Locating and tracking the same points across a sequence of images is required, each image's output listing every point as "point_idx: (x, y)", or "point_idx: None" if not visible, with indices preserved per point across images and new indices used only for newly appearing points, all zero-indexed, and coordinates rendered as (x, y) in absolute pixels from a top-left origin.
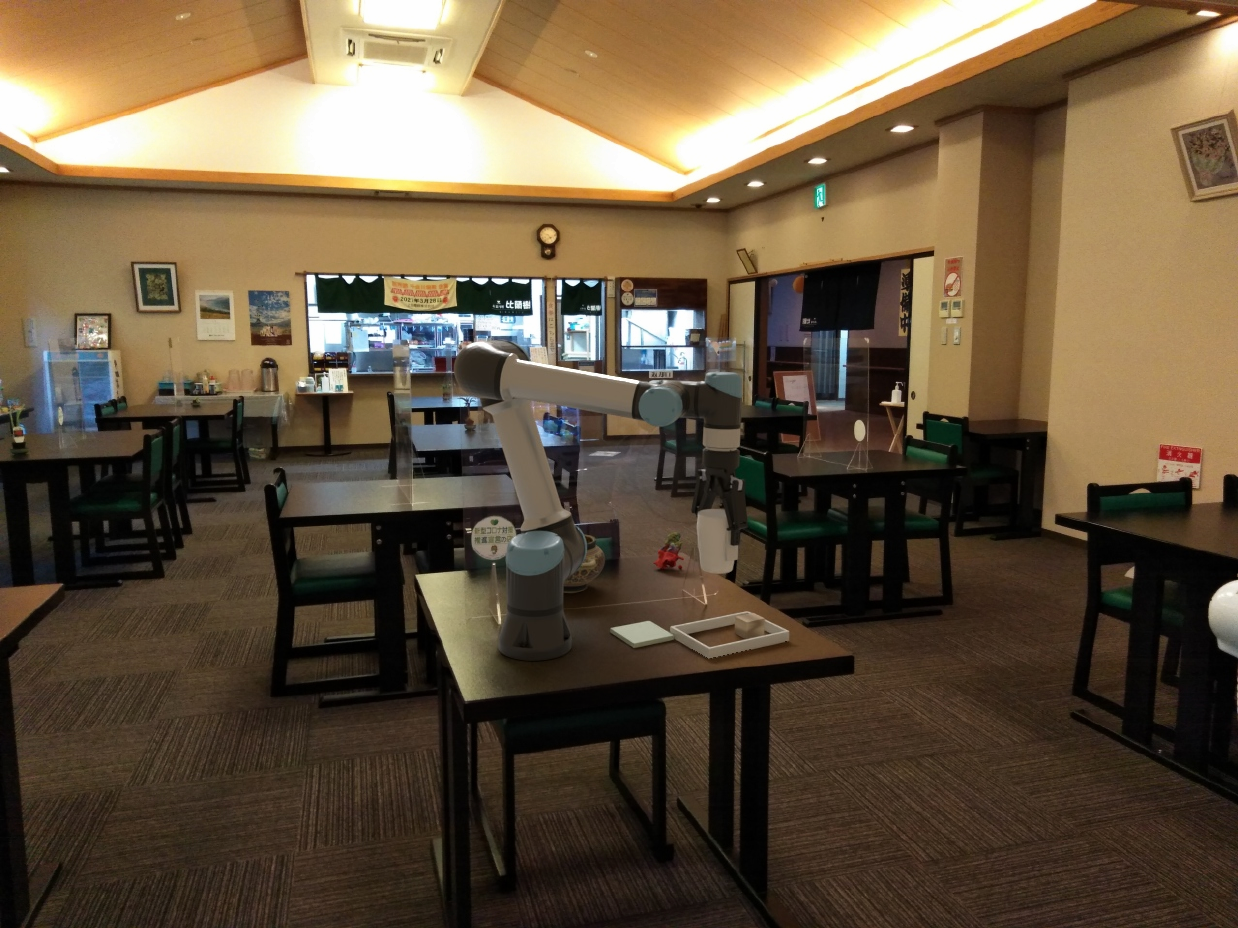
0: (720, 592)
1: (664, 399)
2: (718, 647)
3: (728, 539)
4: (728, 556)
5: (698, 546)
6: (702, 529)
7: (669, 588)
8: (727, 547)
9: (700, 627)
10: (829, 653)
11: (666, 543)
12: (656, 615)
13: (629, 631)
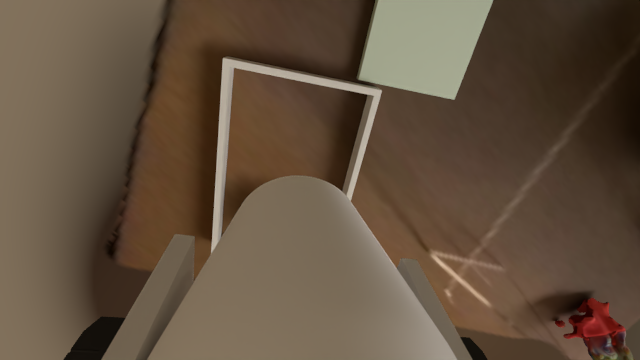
0: (444, 302)
1: None
2: (221, 86)
3: (114, 342)
4: (166, 255)
5: (414, 267)
6: (314, 312)
7: (526, 256)
8: (145, 289)
9: (352, 159)
10: (134, 254)
11: (625, 351)
12: (469, 148)
13: (449, 7)
